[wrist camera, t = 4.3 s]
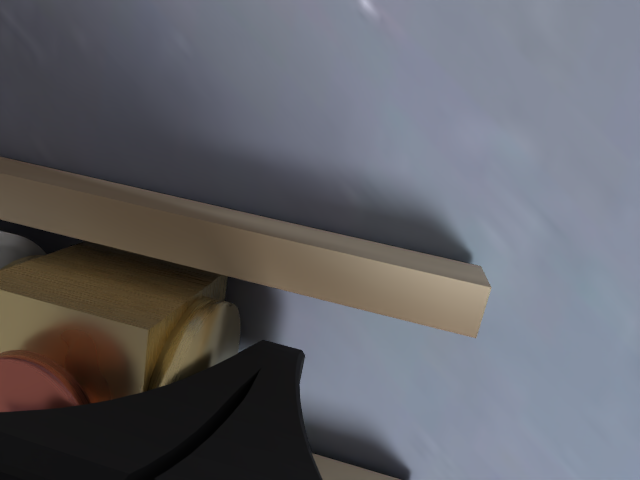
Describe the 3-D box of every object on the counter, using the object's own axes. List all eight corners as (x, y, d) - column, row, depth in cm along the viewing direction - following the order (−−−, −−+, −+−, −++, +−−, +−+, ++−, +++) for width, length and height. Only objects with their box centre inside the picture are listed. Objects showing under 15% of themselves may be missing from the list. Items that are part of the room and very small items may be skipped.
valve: (249, 274, 13) (148, 363, 8) (229, 413, 14) (130, 563, 9) (78, 232, 13) (-109, 290, 9) (72, 367, 15) (-96, 483, 10)
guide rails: (407, 518, 13) (406, 567, 12) (-90, 364, 16) (-143, 390, 14) (480, 266, 11) (491, 287, 10) (-103, 133, 14) (-167, 134, 12)
